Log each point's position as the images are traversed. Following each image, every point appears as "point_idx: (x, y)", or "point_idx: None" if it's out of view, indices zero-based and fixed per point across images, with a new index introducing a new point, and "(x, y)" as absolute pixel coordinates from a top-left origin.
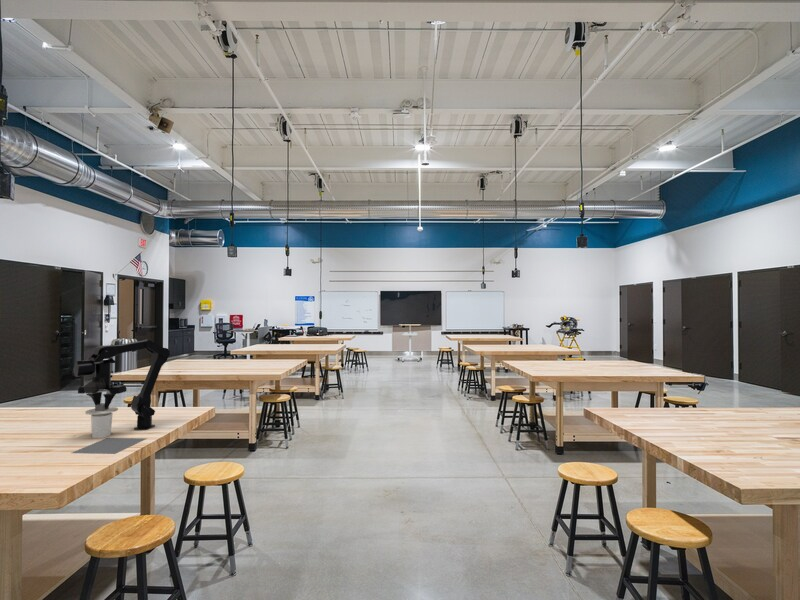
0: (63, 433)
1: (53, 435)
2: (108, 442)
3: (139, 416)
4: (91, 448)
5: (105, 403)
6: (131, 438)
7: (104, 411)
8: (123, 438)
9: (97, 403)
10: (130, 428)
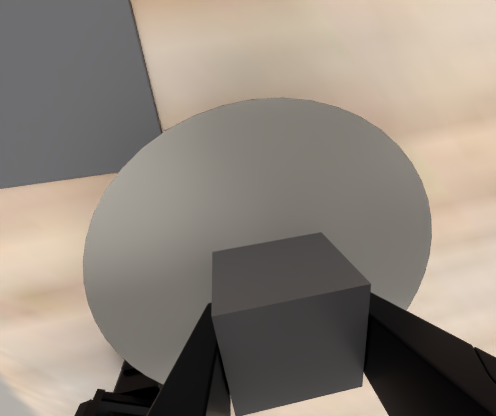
0: (457, 198)
1: (483, 163)
2: (57, 74)
3: (142, 388)
4: None
5: (195, 373)
6: (4, 181)
7: (165, 237)
8: (55, 171)
9: (380, 344)
10: None
